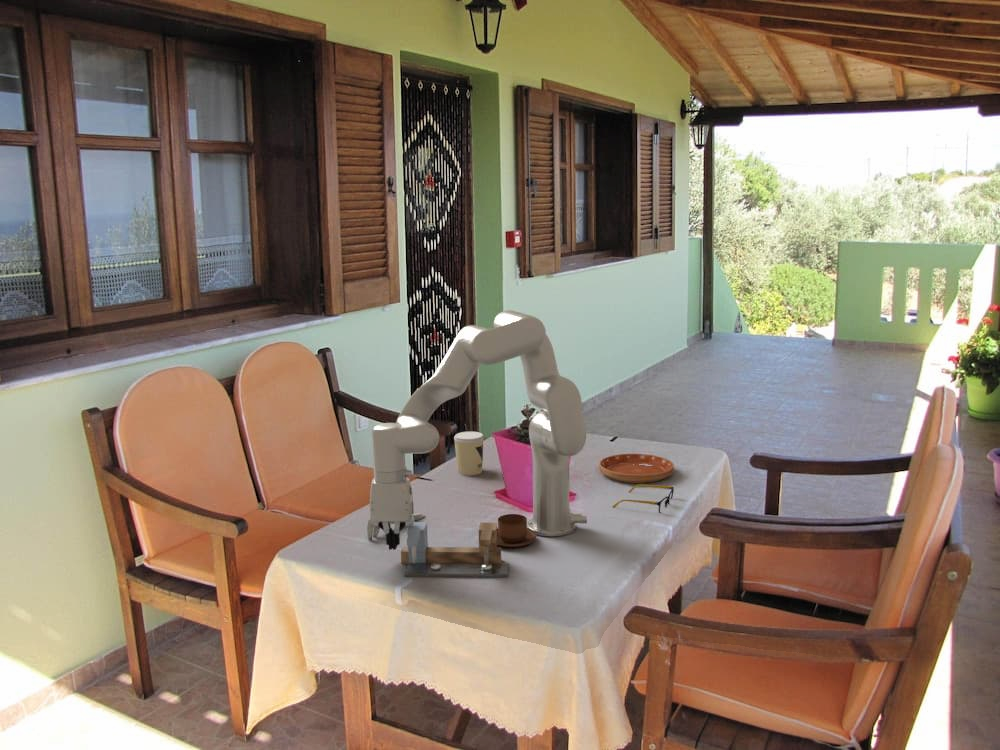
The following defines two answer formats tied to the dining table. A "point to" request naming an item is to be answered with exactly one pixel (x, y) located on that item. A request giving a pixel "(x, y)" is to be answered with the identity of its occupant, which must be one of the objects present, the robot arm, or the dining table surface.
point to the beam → (465, 550)
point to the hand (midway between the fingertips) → (393, 547)
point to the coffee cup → (469, 452)
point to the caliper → (377, 528)
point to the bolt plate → (456, 570)
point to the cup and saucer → (514, 531)
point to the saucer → (636, 467)
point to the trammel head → (417, 542)
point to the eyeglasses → (651, 501)
